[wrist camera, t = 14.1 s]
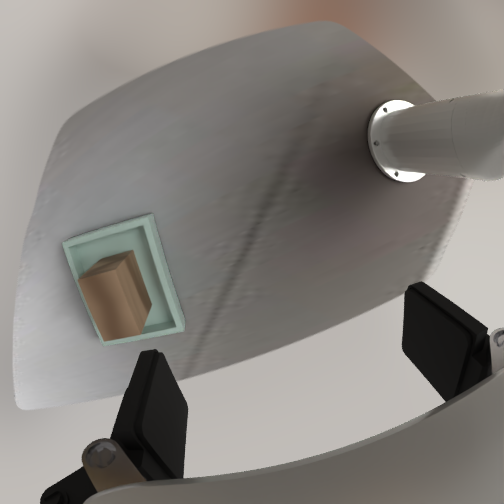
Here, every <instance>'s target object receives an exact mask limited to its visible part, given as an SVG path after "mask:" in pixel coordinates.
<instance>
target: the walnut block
mask: <svg viewBox="0 0 504 504" xmlns="http://www.w3.org/2000/svg"><path fill="white" fill-rule="evenodd" d="M78 283H79V286H80V288H81V291H82V293H83V296H84V298H85V300H86V303H87V305H88V308H89V310H90V312H91V314H92V317H93V319H94V321H95V323H96V326H97V328H98V330H99V332H100V334H101V336H102V338H103V340H104V342H106V341H111V340H117V339H122V338H127V337H132V336H137V335H141V333H142V331H143V328H144V325H145V322H146V320H147V317H148V314H149V312H150V309H151V307H152V303H151V300H150V297H149V294H148V292H147V289H146V286H145V283H144V280H143V278H142V275H141V272H140V269H139V266H138V263H137V260H136V257H135V254H134V250H130V251H126V252H123V253H119V254H116V255H112V256H109V257H105V258H102V259H100V260H99V261H98V262H96V263H95V264H94V265H93V266H92V267H91V268H90V269H89V270H88V271H86V272H85V273H84V274H83V275H82V276H81V277H80V278H79V279H78Z"/></svg>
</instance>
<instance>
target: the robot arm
mask: <svg viewBox="0 0 504 504" xmlns="http://www.w3.org/2000/svg"><path fill="white" fill-rule="evenodd" d="M368 143H369V148H370V152H371V155H372V157H373V159H374V161H375V163H376V164H377V166H378V167H379V169H380V170H381V171H382V172H383V173H384V174H385V175H387V176H388V177H389V178H391V179H393V180H396V181H400V182H414V181H416V180H419V179H420V178H422V177H423V176H424V175H425V174H433V175H443V176H452V177H460V178H468V179H475V180H483V181H495V180H499V179H501V178H503V177H504V89H501V90H496V91H492V92H486V93H481V94H475V95H468V96H463V97H457V98H452V99H446V100H441V101H435V102H430V103H426V104H421V105H416V106H414V105H412V104H411V103H409V102H406V101H403V100H392V101H388V102H385V103H383V104H382V105H380V106H379V107H378V108H377V109H376V110H375V111H374V113H373V114H372V116H371V119H370V122H369V126H368ZM487 330H488V328H487V327H486V326H484V325H483V324H482V323H480V322H479V321H478V320H476V319H475V318H474V317H472V316H471V315H469V314H468V313H467V312H465V311H464V310H463V309H461V308H460V307H458V306H457V305H456V304H454V303H453V302H451V301H450V300H449V299H447V298H446V297H444V296H443V295H441V294H440V293H438V292H437V291H436V290H434V289H433V288H431V287H430V286H428V285H427V284H425V283H424V282H418V283H415V284H412V285H409V286H408V288H407V290H406V291H405V297H404V321H403V337H402V349H403V352H404V353H405V355H406V356H407V357H408V358H409V359H410V360H411V362H412V363H413V364H414V365H415V366H416V367H417V368H418V369H419V371H420V372H421V373H422V374H423V375H424V377H425V378H426V379H427V380H428V381H429V382H430V384H431V385H432V386H433V387H434V388H435V389H436V391H437V392H438V393H439V394H440V396H441V397H442V398H443V399H444V400H445V401H446V402H445V403H444V404H442V405H440V406H438V407H436V408H434V409H432V410H431V411H429V412H427V413H425V414H423V415H421V416H418V417H416V418H415V419H412V420H410V421H408V422H406V423H404V424H401V425H399V426H397V427H395V428H392V429H390V430H388V431H385V432H383V433H380V434H378V435H375V436H373V437H370V438H368V439H365V440H362V441H360V442H357V443H354V444H351V445H348V446H346V447H343V448H339V449H336V450H333V451H330V452H327V453H323V454H320V455H316V456H313V457H309V458H305V459H302V460H298V461H294V462H290V463H286V464H281V465H277V466H271V467H266V468H261V469H256V470H250V471H244V472H238V473H230V474H224V475H215V476H206V477H197V478H183V475H184V458H185V444H186V430H187V418H188V406H187V402H186V400H185V398H184V397H183V394H182V392H181V390H180V388H179V386H178V384H177V382H176V380H175V378H174V376H173V374H172V372H171V369H170V367H169V365H168V363H167V361H166V358H165V356H164V354H163V353H162V352H158V351H157V350H156V349H154V350H147V351H142V352H141V353H140V355H139V358H138V361H137V364H136V366H135V369H134V372H133V375H132V378H131V381H130V383H129V386H128V388H127V389H126V391H125V394H124V397H123V400H122V403H121V406H120V409H119V412H118V415H117V418H116V422H115V424H114V428H113V432H112V434H111V437H110V439H107V438H103V439H98V440H95V441H93V442H92V443H91V444H89V445H88V446H87V447H86V448H85V449H84V451H83V454H82V463H83V467H81V468H80V469H78V470H77V471H75V472H74V473H72V474H71V475H69V476H67V477H65V478H64V479H62V480H61V481H59V482H57V483H56V484H54V485H52V486H51V487H49V488H48V489H46V490H45V492H44V493H43V494H42V496H41V499H40V504H504V328H499V329H496V330H494V331H493V332H492V333H491V335H490V336H489V335H488V334H487Z"/></svg>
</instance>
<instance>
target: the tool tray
mask: <svg viewBox="0 0 504 504" xmlns="http://www.w3.org/2000/svg"><path fill="white" fill-rule="evenodd" d="M62 245H63V248H64V251H65V254H66V257H67V260H68V263H69V266H70V269H71V272H72V275H73V277H74V280H75V283H76V285H77V288H78V290H79V293H80V295H81V298H82V300H83V303H84V305H85V308H86V310H87V312H88V315H89V317H90V319H91V321H92V324H93V326H94V328H95V330H96V332H97V335H98V337H99V339H100V341H101V343H102V345H103V346H108V345H114V344H120V343H126V342H131V341H137V340H142V339H148V338H153V337H158V336H163V335H168V334H173V333H178V332H182V331H184V329H185V321H186V320H185V317H184V314H183V312H182V309H181V306H180V303H179V300H178V297H177V294H176V291H175V288H174V284H173V281H172V278H171V275H170V272H169V269H168V265H167V262H166V259H165V255H164V252H163V249H162V245H161V242H160V238H159V235H158V231H157V227H156V224H155V220H154V216H153V213H151V214H148V215H144V216H141V217H137V218H134V219H130V220H127V221H123V222H120V223H116V224H113V225H110V226H107V227H103V228H100V229H97V230H94V231H90V232H87V233H84V234H81V235H78V236H75V237H72V238H70V239H68V240H66V241H64V242H63V243H62ZM130 250H134V254H135V257H136V260H137V263H138V266H139V269H140V272H141V275H142V278H143V280H144V283H145V286H146V289H147V292H148V294H149V297H150V300H151V303H152V307H151V309H150V312H149V314H148V317H147V320H146V322H145V325H144V328H143V331H142V333H141V335H137V336H132V337H127V338H122V339H117V340H111V341H106V342H104V340H103V338H102V336H101V334H100V332H99V330H98V328H97V326H96V323H95V321H94V319H93V317H92V314H91V312H90V310H89V308H88V305H87V303H86V300H85V298H84V296H83V293H82V291H81V288H80V286H79V283H78V279H79V278H80V277H81V276H82V275H83V274H84V273H85V272H86V271H88V270H89V269H90V268H91V267H92V266H93V265H94V264H95V263H96V262H98V261H99V260H100V259H102V258H105V257H109V256H112V255H116V254H119V253H123V252H126V251H130Z"/></svg>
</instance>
